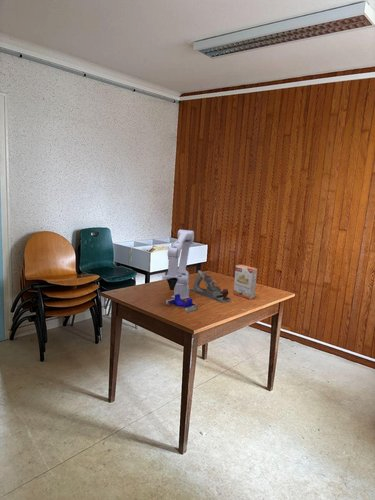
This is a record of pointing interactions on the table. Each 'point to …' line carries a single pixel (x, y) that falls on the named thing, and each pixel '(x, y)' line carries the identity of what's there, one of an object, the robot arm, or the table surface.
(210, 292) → the hand plane
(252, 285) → the cracker box
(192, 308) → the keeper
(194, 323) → the table surface
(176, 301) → the cable clip
